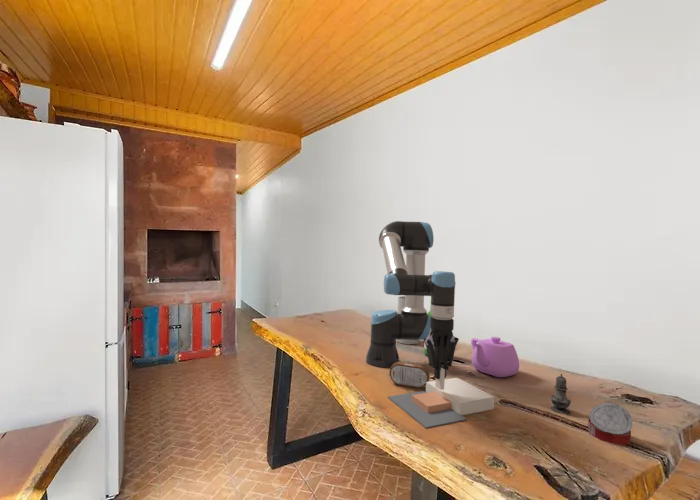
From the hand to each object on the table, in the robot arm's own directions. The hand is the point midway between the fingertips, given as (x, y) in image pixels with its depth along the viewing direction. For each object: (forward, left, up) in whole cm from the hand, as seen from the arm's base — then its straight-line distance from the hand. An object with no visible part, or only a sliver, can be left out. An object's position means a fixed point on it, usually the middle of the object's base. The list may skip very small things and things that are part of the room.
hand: (439, 387), depth 116 cm
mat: (+1, -6, -5) cm, 9 cm away
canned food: (+33, +34, -6) cm, 48 cm away
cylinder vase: (-72, +34, -6) cm, 80 cm away
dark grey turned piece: (+17, +36, -6) cm, 40 cm away
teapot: (-18, +43, -6) cm, 47 cm away
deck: (0, +8, -5) cm, 10 cm away
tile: (0, -4, -5) cm, 6 cm away
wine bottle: (-47, +32, -6) cm, 57 cm away
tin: (-17, -1, -6) cm, 18 cm away
